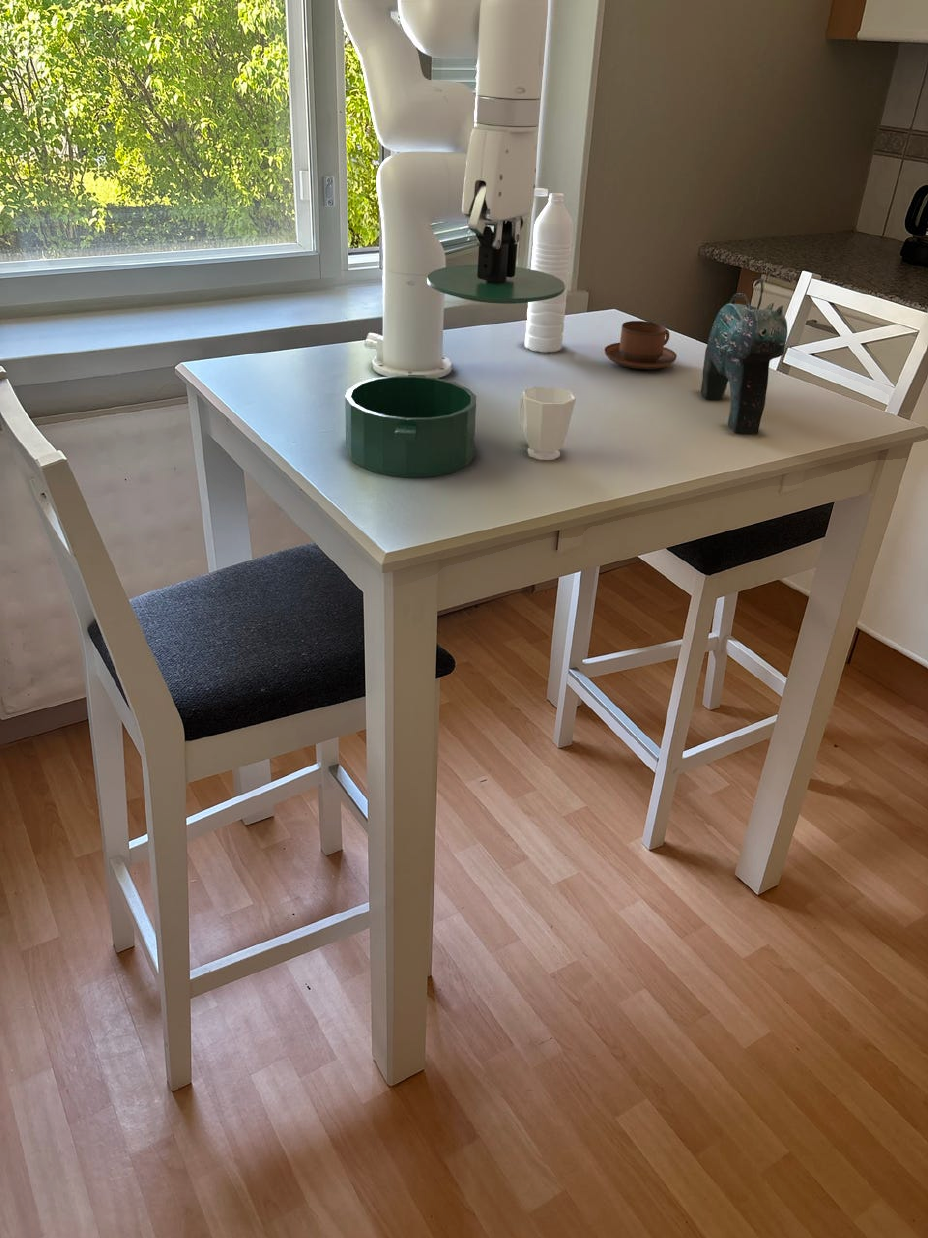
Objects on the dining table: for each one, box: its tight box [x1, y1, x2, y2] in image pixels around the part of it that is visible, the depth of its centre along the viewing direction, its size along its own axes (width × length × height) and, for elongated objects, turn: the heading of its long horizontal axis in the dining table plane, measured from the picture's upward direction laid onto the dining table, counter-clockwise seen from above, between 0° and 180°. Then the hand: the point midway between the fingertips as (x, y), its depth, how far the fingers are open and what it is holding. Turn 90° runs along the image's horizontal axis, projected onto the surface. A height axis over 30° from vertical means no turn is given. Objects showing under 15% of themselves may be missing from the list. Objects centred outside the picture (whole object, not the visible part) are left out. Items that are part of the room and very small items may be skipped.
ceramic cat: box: [700, 278, 788, 435], centre depth 140 cm, size 20×6×20 cm, turn 5°
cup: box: [518, 386, 577, 461], centre depth 128 cm, size 7×10×8 cm
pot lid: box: [427, 240, 565, 305], centre depth 123 cm, size 17×17×6 cm
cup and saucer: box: [604, 320, 678, 370], centre depth 164 cm, size 12×12×6 cm
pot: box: [344, 374, 477, 478], centre depth 126 cm, size 16×22×8 cm
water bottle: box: [524, 187, 574, 354], centre depth 165 cm, size 9×6×25 cm
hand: (496, 276), depth 123 cm, fingers closed on pot lid, 2 cm apart
